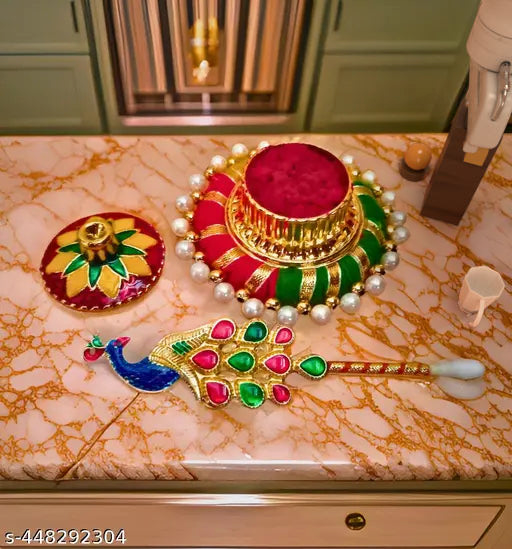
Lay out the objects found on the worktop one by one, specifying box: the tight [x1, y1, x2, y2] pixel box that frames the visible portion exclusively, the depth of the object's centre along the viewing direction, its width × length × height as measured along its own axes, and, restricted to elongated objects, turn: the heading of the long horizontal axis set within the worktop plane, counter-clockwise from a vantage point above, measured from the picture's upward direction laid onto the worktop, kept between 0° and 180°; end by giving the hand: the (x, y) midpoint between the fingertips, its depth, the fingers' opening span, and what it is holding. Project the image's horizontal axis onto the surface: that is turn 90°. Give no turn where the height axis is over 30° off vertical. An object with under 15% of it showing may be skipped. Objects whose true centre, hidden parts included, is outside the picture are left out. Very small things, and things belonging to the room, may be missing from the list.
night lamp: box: [398, 142, 433, 182], centre depth 123 cm, size 6×6×7 cm
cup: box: [457, 265, 506, 328], centre depth 103 cm, size 7×10×8 cm
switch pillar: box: [419, 97, 505, 227], centre depth 109 cm, size 8×8×27 cm
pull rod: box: [464, 147, 489, 166], centre depth 97 cm, size 15×3×3 cm, turn 160°
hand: (469, 126), depth 82 cm, fingers open, 8 cm apart
